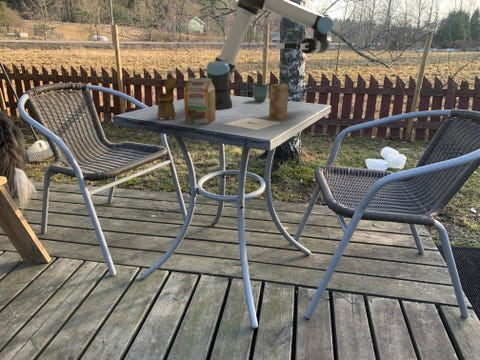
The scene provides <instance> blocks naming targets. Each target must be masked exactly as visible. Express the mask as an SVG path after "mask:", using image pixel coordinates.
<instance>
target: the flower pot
mask: <svg viewBox="0 0 480 360" xmlns="http://www.w3.org/2000/svg"><path fill="white" fill-rule="evenodd" d="M269 90H270V84H254V85H252V96H253V99H254V100H255V102H265V101H266V100H267V98H268V94H269Z"/></svg>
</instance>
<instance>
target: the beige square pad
mask: <svg viewBox="0 0 480 360" xmlns="http://www.w3.org/2000/svg"><path fill="white" fill-rule="evenodd" d="M279 124H281V122H280V121H274V120H267V119H261V118H254V117H246V118H241V119H238V120H234V121H230V122H226V123H225V122H224V125H227V126H233V127H239V128H245V129H249V130H254V131H258V130H262V129H264V128H268V127H271V126H275V125H279Z"/></svg>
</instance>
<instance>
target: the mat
mask: <svg viewBox="0 0 480 360" xmlns="http://www.w3.org/2000/svg"><path fill="white" fill-rule="evenodd" d="M260 119H261V120H267V121H273V122H280V123H282V122H285V121H289V120H294V119H297V118H296V116H295V117H294V116H288V115H287V118H284V119H280V120H279V119H273V118H269V115H267V116H264V117H263V116H261V117H260Z"/></svg>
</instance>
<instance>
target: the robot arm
mask: <svg viewBox="0 0 480 360" xmlns="http://www.w3.org/2000/svg"><path fill="white" fill-rule="evenodd" d="M260 10H261V11H264V10H266V11H269V12H271V13H274V14H276V15H278V16H280V17H282V18H284V19H285V18H286V19H287V20H290V21H293V22H295V23H298V24H299V25H302V26H305V27H307V28H309V29H312V30H313V34H312V37H311V38H310V37H309V38H308V37H307V38H304V39H303V40H302V41H299V42H297V41H295V42H294V43H293V42H292V43H291V42H290V43H288V42H287V43H286V42H276V43H275V50H281V51H284V49H294V50H299V51H302V53H303V54H309V55H314V54H323V53H326V52H327V51H329V49H330V42H329V40H328V33H329V32H330V31H331V30H332V29H333V25H334V22H333V20H332V18H331V17H330V15H329V14H328V13H318V12H317V11H314V10H311V9H309V8H306V7H305V6H301V5H300V4H298V3H295V2H293V1H291V0H238V2H237V5H236V11H237V12H236V14H235V17H234V20H233V22H232V24H231V27H230V30H229V32H228V34H227V36H226V39H225V42H224V45H223V47H222V50H221V52H220V54H219V55H216V57H215V60H213V61H209V62H208V63H207V64H206V78H210V79H211V82H212V84H213V85H214V88H215V110H225V109H226V110H227V109H231V108H233V102H232V98H231V95H230V94H231V93H230V80H231V79H232V78H233V73H234V70H235V68H236V66H237V65H236V62H235V60H236V58H237V56H238V55H239V54H238V53H239V51H240V49H241V47H242V44H243V42H244V40H245V37H246V35H247V32H248V29H249V27H250V25H251V23H252V21H253V19H254V18H255V17H257V15H258V13H259V11H260Z"/></svg>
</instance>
